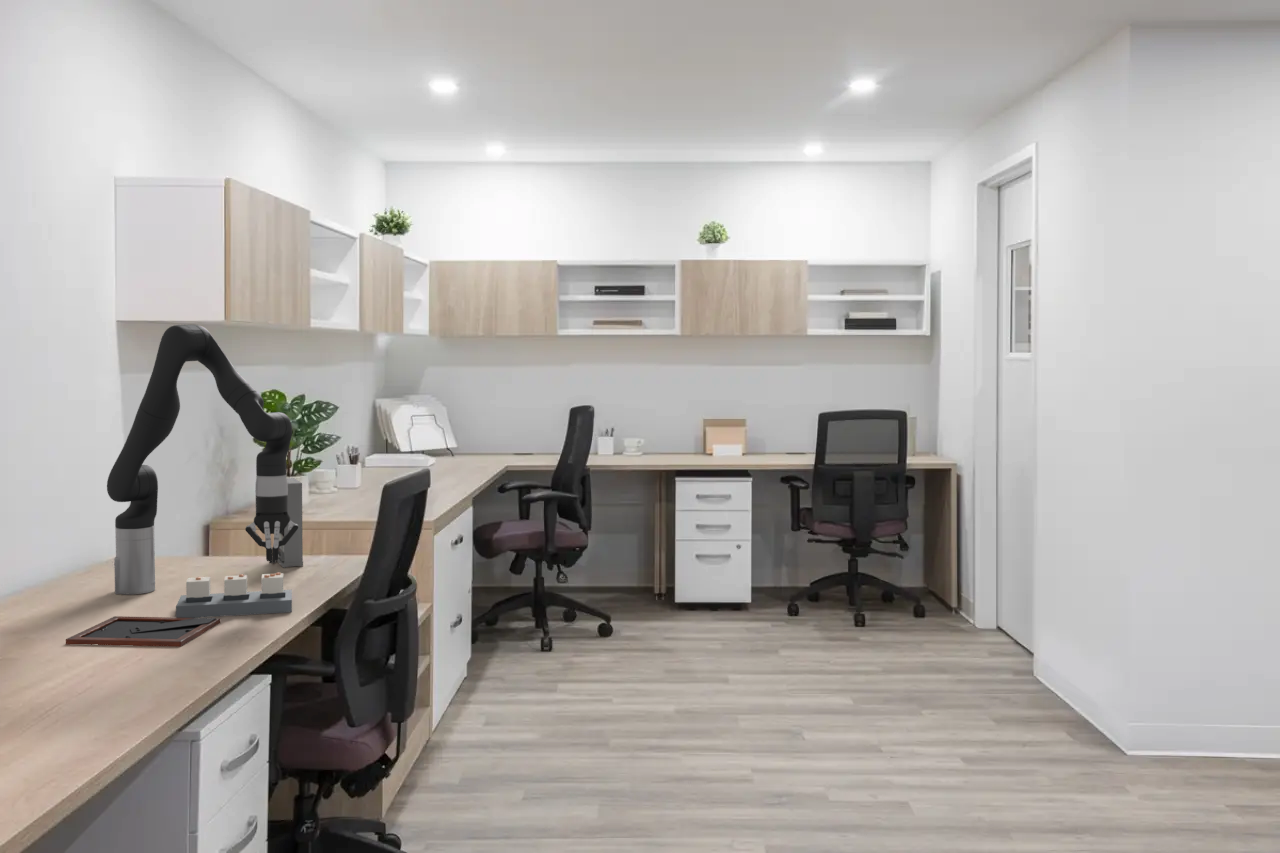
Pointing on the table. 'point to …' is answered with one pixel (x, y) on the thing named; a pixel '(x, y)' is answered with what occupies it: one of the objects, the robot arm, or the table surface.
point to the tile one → (198, 587)
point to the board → (234, 604)
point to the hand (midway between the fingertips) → (272, 562)
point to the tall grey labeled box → (294, 547)
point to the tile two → (235, 585)
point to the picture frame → (145, 631)
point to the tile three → (272, 583)
